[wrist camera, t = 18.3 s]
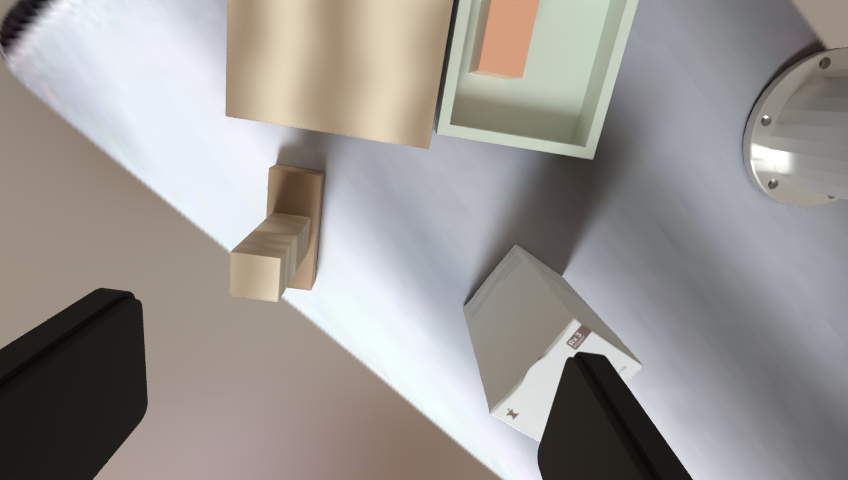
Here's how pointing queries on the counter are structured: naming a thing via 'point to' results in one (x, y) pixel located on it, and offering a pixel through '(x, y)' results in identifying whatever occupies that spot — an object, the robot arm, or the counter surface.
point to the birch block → (338, 65)
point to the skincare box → (533, 339)
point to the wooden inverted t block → (281, 238)
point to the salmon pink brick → (503, 38)
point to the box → (539, 79)
